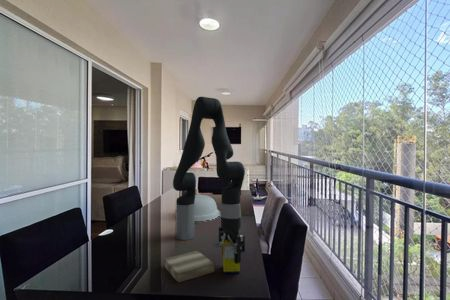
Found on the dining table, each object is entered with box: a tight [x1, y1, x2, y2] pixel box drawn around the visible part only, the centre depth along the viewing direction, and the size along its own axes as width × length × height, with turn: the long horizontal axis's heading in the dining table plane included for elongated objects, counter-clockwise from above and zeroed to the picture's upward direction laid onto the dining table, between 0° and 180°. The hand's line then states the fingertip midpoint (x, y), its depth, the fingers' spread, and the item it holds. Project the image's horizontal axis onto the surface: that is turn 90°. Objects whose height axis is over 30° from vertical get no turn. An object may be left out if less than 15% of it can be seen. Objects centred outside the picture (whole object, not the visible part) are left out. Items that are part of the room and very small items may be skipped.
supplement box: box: [222, 239, 241, 274], centre depth 92 cm, size 6×6×11 cm
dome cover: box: [174, 194, 221, 222], centre depth 170 cm, size 32×30×14 cm
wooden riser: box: [164, 250, 215, 283], centre depth 93 cm, size 14×14×3 cm
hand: (231, 258), depth 92 cm, fingers closed on supplement box, 8 cm apart
